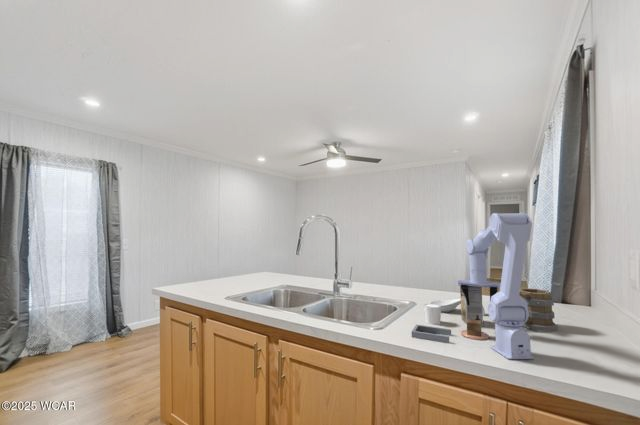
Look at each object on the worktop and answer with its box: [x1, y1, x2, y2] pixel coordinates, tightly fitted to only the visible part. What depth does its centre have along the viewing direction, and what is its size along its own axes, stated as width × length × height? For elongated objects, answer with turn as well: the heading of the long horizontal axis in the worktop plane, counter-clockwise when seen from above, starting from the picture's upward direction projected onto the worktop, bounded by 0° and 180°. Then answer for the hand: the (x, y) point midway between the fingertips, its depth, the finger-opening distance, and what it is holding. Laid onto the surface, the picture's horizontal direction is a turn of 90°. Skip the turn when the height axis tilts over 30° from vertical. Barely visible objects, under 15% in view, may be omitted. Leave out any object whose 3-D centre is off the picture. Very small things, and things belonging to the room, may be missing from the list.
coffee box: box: [459, 286, 484, 327], centre depth 123 cm, size 9×6×16 cm
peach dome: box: [460, 329, 490, 341], centre depth 107 cm, size 9×9×1 cm
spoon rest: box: [429, 297, 486, 317], centre depth 140 cm, size 24×12×7 cm, turn 63°
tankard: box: [519, 287, 559, 332], centre depth 117 cm, size 20×13×15 cm, turn 110°
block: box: [466, 319, 483, 337], centre depth 108 cm, size 4×4×4 cm
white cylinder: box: [423, 303, 442, 325], centre depth 124 cm, size 7×7×7 cm
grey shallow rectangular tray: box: [411, 324, 452, 344], centre depth 107 cm, size 12×9×2 cm
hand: (479, 305), depth 113 cm, fingers open, 7 cm apart
